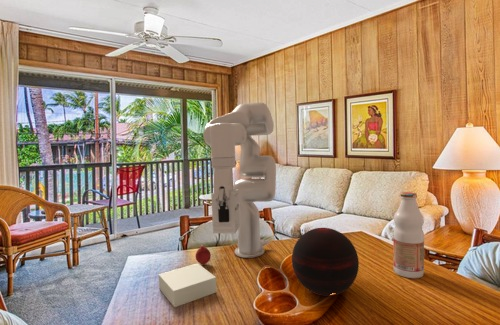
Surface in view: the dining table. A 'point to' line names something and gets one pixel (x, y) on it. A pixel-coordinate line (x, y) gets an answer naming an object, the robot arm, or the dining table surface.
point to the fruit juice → (408, 238)
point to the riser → (187, 284)
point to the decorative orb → (325, 261)
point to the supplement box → (233, 214)
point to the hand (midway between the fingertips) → (226, 217)
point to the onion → (203, 255)
